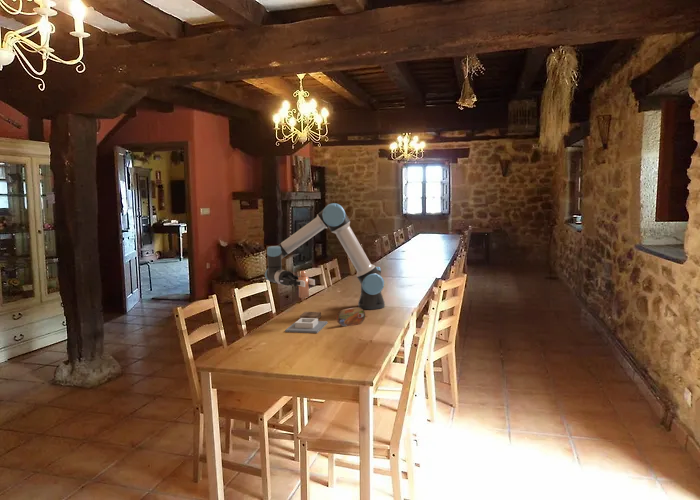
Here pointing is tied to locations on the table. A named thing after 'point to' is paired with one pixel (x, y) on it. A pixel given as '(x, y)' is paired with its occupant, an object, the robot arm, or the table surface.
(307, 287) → the bottle
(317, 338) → the table surface
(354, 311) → the tin
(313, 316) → the block
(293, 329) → the holder
